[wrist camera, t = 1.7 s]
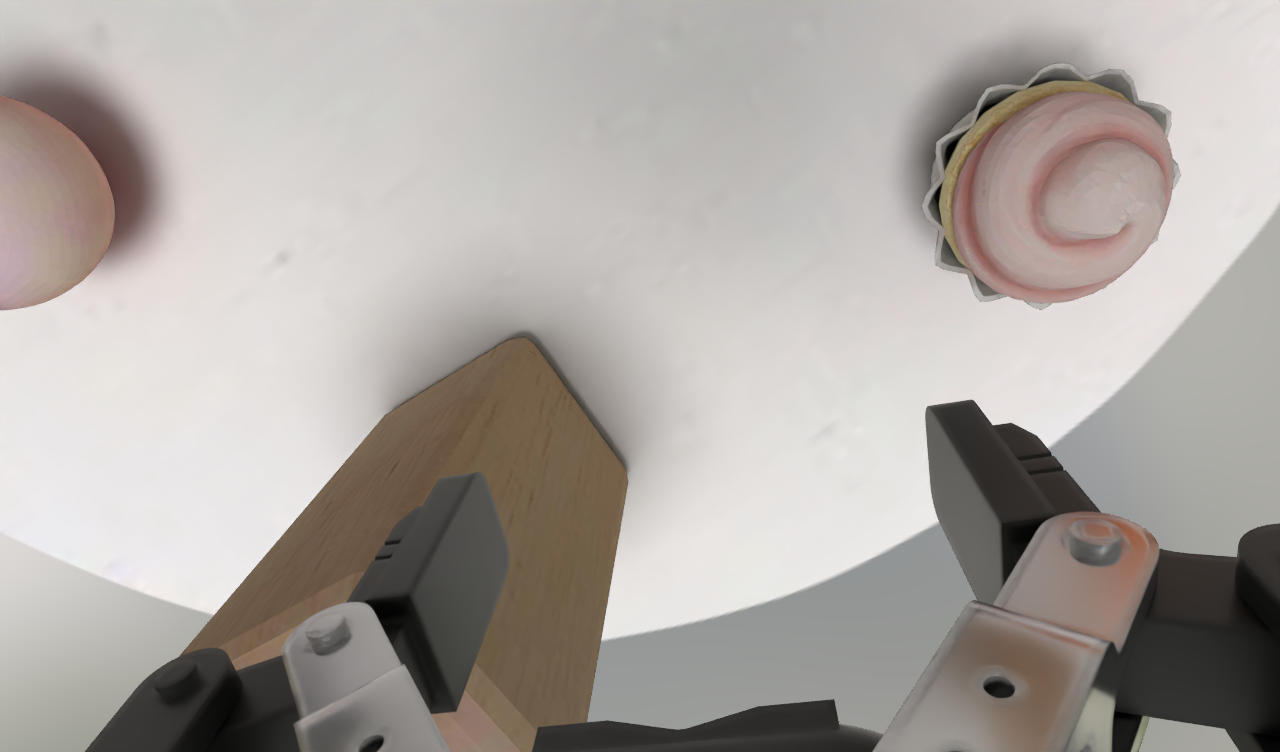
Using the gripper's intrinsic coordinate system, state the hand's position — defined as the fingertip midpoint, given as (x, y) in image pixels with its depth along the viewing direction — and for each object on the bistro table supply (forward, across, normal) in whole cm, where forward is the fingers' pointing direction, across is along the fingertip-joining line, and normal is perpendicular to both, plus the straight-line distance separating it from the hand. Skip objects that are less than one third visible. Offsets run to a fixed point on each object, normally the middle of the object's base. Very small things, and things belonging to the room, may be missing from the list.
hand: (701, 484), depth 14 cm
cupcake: (+24, -13, +1) cm, 27 cm away
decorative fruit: (+24, +29, -7) cm, 38 cm away
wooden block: (+24, +12, +10) cm, 29 cm away
